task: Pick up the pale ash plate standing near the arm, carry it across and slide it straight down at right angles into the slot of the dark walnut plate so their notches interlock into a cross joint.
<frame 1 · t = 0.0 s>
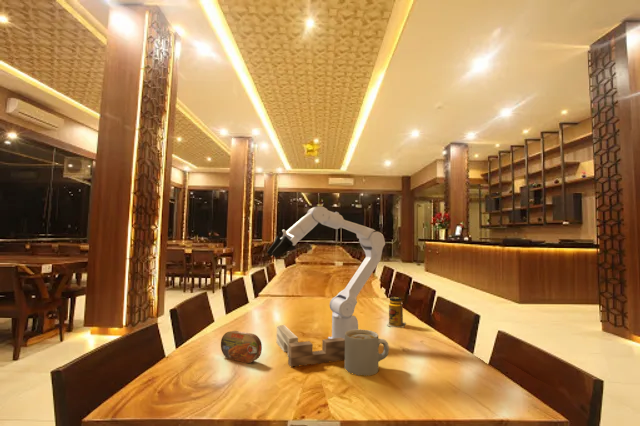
hand: (271, 254, 114), 32 cm above the table, tool tilted 50°, fingers open, 7 cm apart
condiment: (396, 325, 145), on the table
walnut slotted plate: (317, 361, 101), on the table
ash notched plate: (286, 349, 112), on the table
coffee mug: (367, 369, 96), on the table
tin: (240, 360, 102), on the table
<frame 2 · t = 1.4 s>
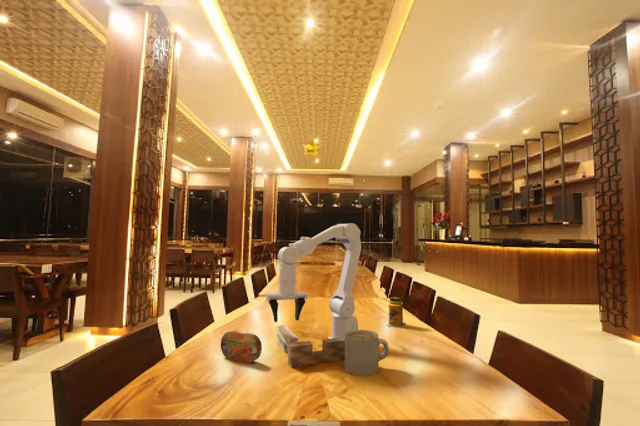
hand: (286, 320, 113), 9 cm above the table, tool pointing down, fingers open, 7 cm apart
nothing on the table moved.
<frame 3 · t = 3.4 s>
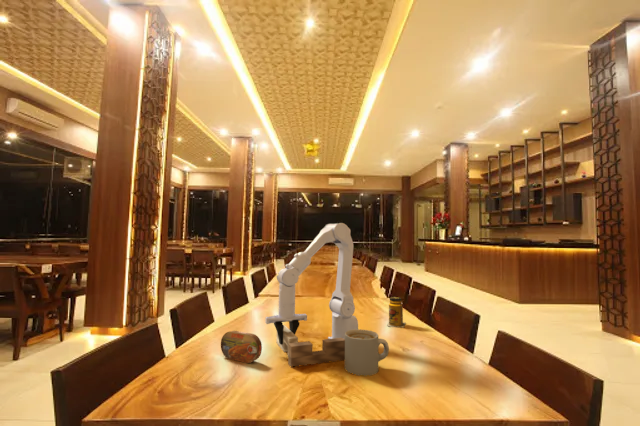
hand: (286, 343, 112), 2 cm above the table, tool pointing down, fingers closed on ash notched plate, 3 cm apart
ash notched plate: (286, 349, 112), on the table, touching gripper
everything else where it was.
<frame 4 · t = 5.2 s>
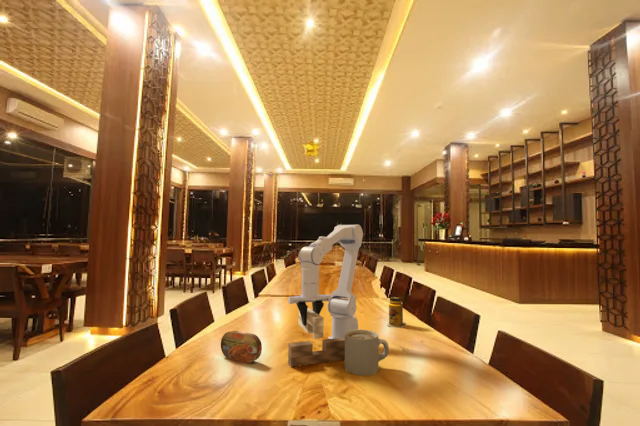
hand: (309, 324, 107), 10 cm above the table, tool pointing down, fingers closed on ash notched plate, 3 cm apart
ash notched plate: (310, 330, 106), point 8 cm above the table, touching gripper
everything else where it was.
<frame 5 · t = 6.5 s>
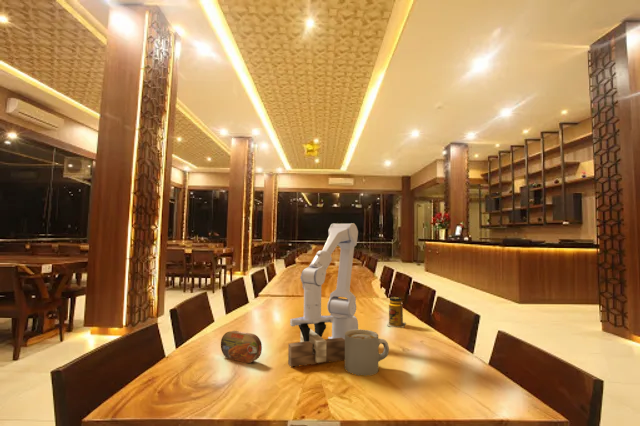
hand: (311, 346, 106), 3 cm above the table, tool pointing down, fingers closed on ash notched plate, 3 cm apart
ash notched plate: (312, 353, 105), point 1 cm above the table, touching gripper
everything else where it was.
when the fingers open (3 cm above the table, at t = 7.2 s): ash notched plate stays where it is, on the table.
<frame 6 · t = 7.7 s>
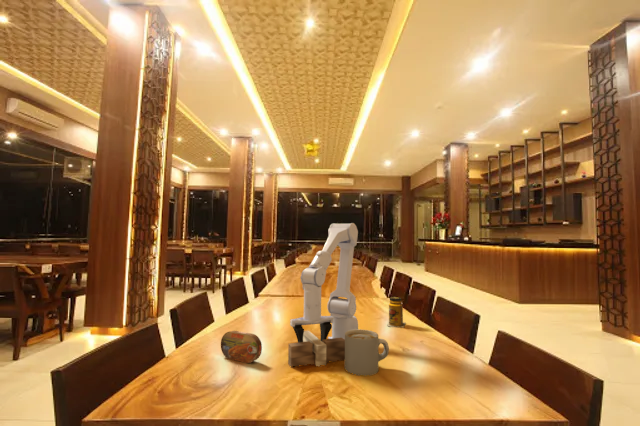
hand: (311, 346, 106), 3 cm above the table, tool pointing down, fingers open, 7 cm apart
ash notched plate: (312, 356, 105), on the table
everything else where it was.
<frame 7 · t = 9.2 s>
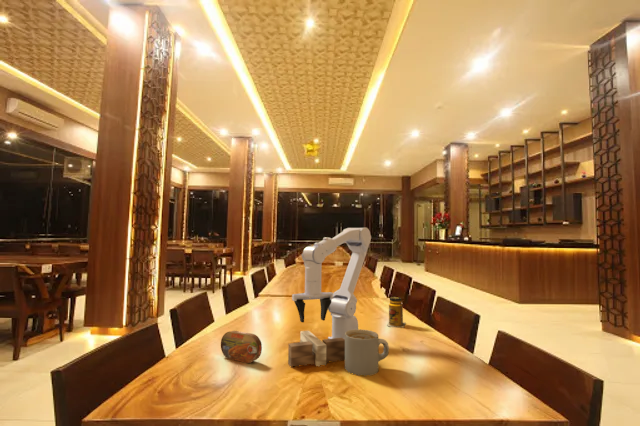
hand: (312, 320, 112), 10 cm above the table, tool pointing down, fingers open, 7 cm apart
nothing on the table moved.
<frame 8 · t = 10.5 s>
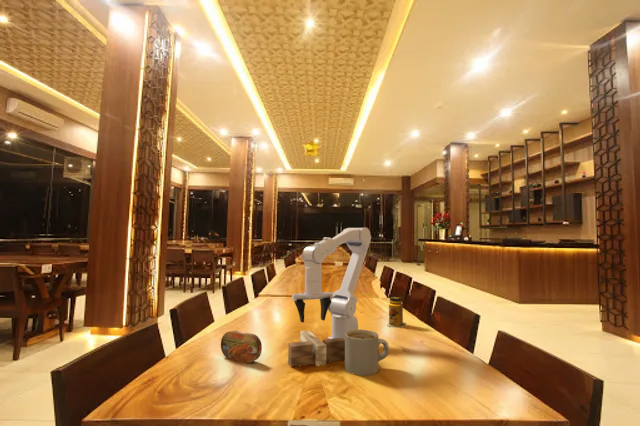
hand: (312, 320, 112), 10 cm above the table, tool pointing down, fingers open, 7 cm apart
nothing on the table moved.
at the end: ash notched plate 0.0 cm from the target spot on the table beside the walnut slotted plate, on the table; ash notched plate tilted 0°; the gripper is holding nothing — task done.
